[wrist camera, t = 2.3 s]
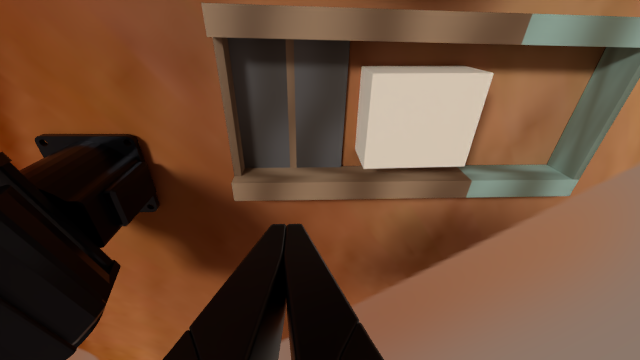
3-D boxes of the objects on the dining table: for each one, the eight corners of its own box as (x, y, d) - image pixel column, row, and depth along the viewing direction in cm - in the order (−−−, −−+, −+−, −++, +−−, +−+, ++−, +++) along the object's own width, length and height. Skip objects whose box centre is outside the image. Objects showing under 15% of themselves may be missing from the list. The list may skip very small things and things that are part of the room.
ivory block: (354, 148, 21) (363, 168, 18) (360, 65, 18) (372, 73, 15) (441, 146, 21) (464, 166, 18) (461, 65, 18) (493, 72, 15)
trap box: (241, 183, 21) (234, 201, 19) (215, 5, 15) (201, 2, 13) (544, 180, 23) (569, 196, 21) (627, 19, 17) (675, 18, 15)
